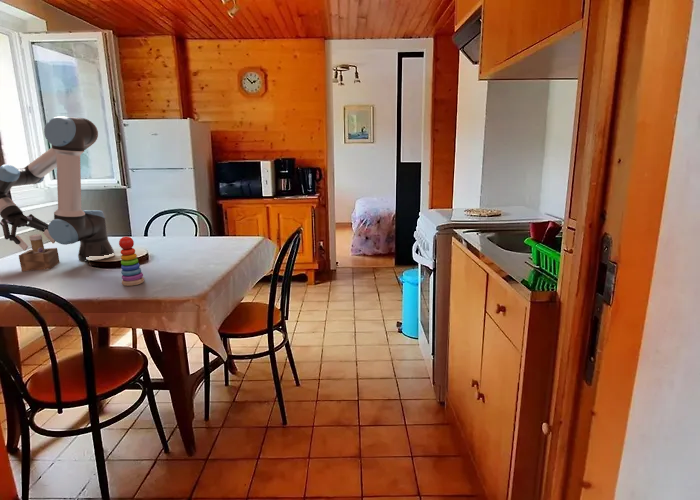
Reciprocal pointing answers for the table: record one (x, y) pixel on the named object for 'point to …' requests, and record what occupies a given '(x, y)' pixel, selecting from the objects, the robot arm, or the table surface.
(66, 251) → the table surface
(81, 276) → the table surface
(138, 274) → the stacking toy
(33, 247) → the sprinkles bottle
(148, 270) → the table surface
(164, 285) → the table surface
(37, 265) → the walnut socket block
